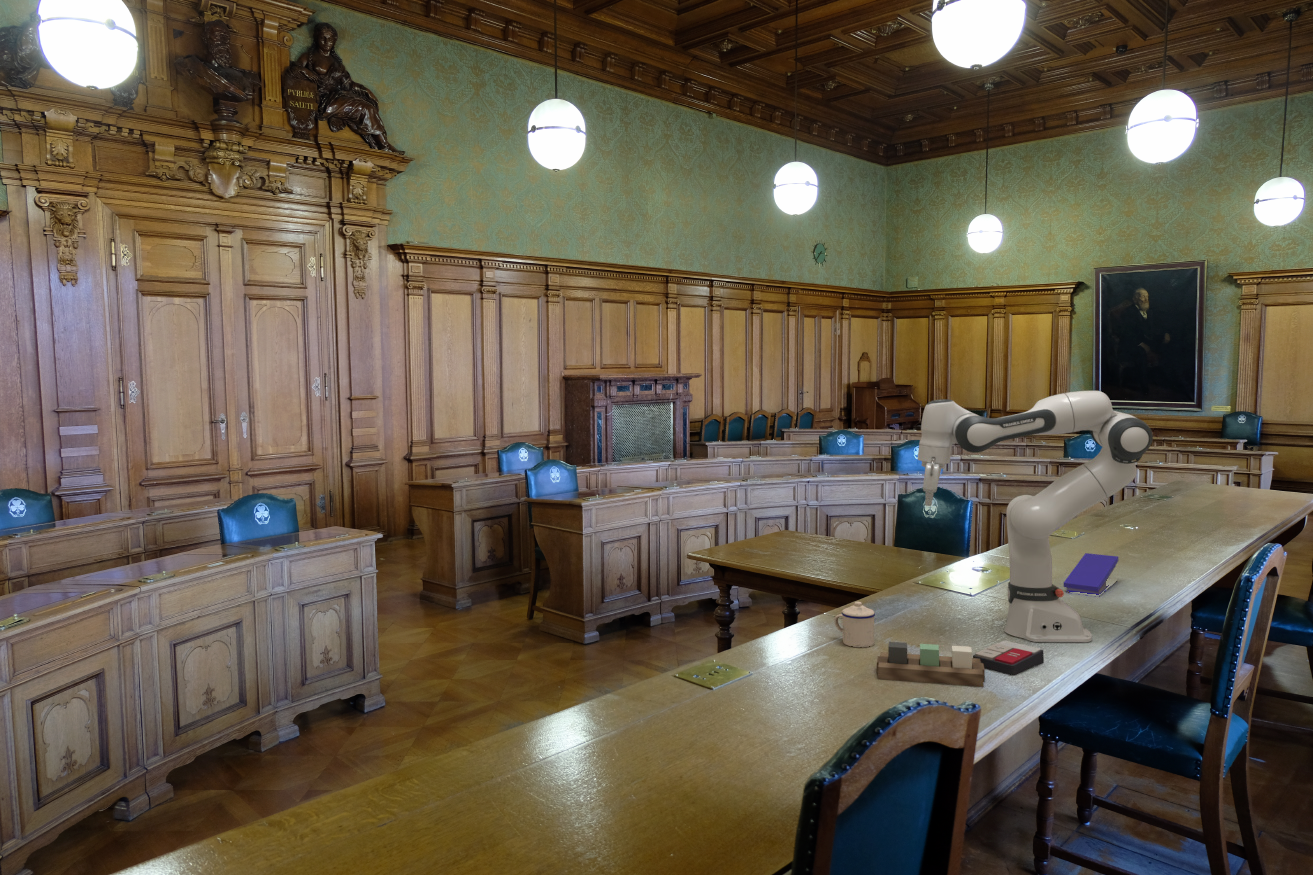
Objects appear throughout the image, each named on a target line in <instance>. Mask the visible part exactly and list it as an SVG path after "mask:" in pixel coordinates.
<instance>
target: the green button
mask: <svg viewBox="0 0 1313 875" xmlns="http://www.w3.org/2000/svg"><path fill="white" fill-rule="evenodd" d="M939 648H940V646H939V644H935V643H933V644H931V643H919V655H920V665H923V666H937V667H939V656H940V649H939Z"/></svg>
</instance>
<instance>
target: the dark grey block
mask: <svg viewBox="0 0 1313 875" xmlns="http://www.w3.org/2000/svg"><path fill="white" fill-rule="evenodd" d="M887 650H888V651H887V652H888V659H889V663H895V664H907V654H908V642H902V641H900V642H899V641H888V647H887Z"/></svg>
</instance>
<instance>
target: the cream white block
mask: <svg viewBox="0 0 1313 875" xmlns="http://www.w3.org/2000/svg"><path fill="white" fill-rule="evenodd" d="M951 657H952V668H965V669H972V658H973V651H972V647H971V646H967V645H966V646H963V645H951Z"/></svg>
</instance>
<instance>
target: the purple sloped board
mask: <svg viewBox="0 0 1313 875" xmlns="http://www.w3.org/2000/svg"><path fill="white" fill-rule="evenodd" d="M1119 560H1120V559H1119V556H1116V555H1106V554H1097V553H1090V552H1089V553H1088V552H1087V553H1084V555H1083V556H1081V559H1080V560H1079V561H1078V563H1077V564H1076V565H1075V567H1074V568H1073V569H1072V571H1071V572H1070V574H1068V576H1067V577H1066V579H1065V580H1064V581H1063V588H1066V592H1067V591H1069V592H1080V593H1087V594H1096V595H1099V594H1101V593H1102V592H1103V591H1104V590H1105V589H1106V588H1107V587H1108V586H1109V585H1108V586H1106V581H1107V579H1108V578H1110V576H1111V575H1112V573H1113V571H1114V570H1115V568H1116V566H1117V564H1118V562H1119Z"/></svg>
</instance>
